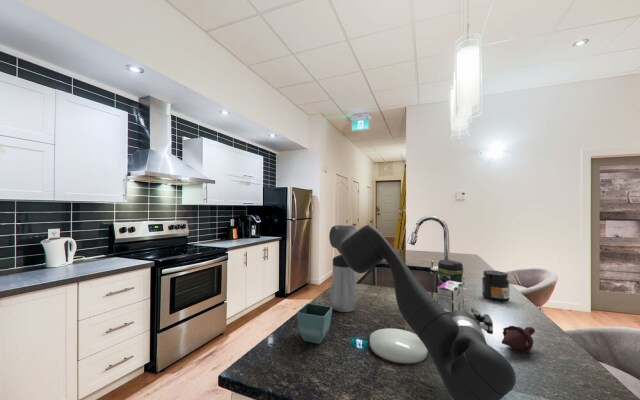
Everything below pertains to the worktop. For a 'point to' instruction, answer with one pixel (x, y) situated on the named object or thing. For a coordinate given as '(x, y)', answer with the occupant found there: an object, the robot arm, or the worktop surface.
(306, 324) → the flower pot
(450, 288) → the candy bar box
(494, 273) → the supplement container
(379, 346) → the plate
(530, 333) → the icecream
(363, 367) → the worktop surface
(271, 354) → the worktop surface
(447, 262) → the coffee jar
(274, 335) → the worktop surface
